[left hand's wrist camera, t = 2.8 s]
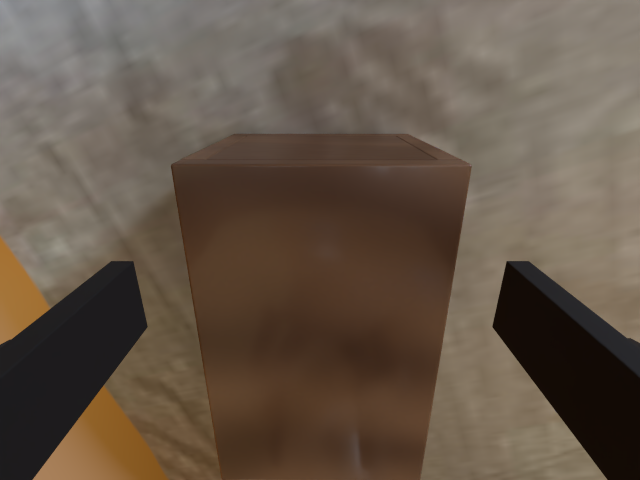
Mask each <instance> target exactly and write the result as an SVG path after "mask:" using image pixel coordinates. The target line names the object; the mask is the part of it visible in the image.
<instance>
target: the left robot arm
mask: <svg viewBox="0 0 640 480" xmlns="http://www.w3.org/2000/svg"><path fill="white" fill-rule="evenodd" d="M146 328H147V322H146V317H145V313H144V308H143V304H142V299H141V295H140V290H139V285H138V281H137V276H136V272H135V267H134V263H133V261H111V262H110V263H109V264H107V265H106V266H105V267H103V268H102V269H101V270H100V271H98V272H97V273H96V274H95V275H93V276H92V277H91V278H89V279H88V280H87V281H86V282H84V283H83V284H82V285H80V286H79V287H78V288H77V289H75V290H74V291H73V292H72V293H70V294H69V295H68V296H66V297H65V298H64V299H63V300H61V301H60V302H59V303H57V304H56V305H55V306H54V307H52V308H51V309H50V310H49V311H47V312H46V313H45V314H43V315H42V316H41V317H40V318H38V319H37V320H36V321H35V322H33V323H32V324H31V325H29V326H28V327H27V328H26V329H24V330H23V331H22V332H20V333H19V334H18V335H17V336H15V337H14V338H13V339H11V340H8V341H6V342H5V343H3V344H1V345H0V480H32V479H33V478H34V477H35V476H36V474H37V473H38V472H39V470H40V469H41V468H42V466H43V465H44V464H45V462H46V461H47V460H48V458H49V457H50V456H51V454H52V453H53V452H54V450H55V449H56V448H57V446H58V445H59V444H60V442H61V441H62V440H63V438H64V437H65V436H66V434H67V433H68V432H69V430H70V429H71V428H72V426H73V425H74V424H75V422H76V421H77V420H78V418H79V417H80V416H81V415H82V413H83V412H84V410H85V409H86V408H87V407H88V405H89V404H90V403H91V401H92V400H93V399H94V397H95V396H96V395H97V393H98V392H99V391H100V389H101V388H102V387H103V385H104V384H105V383H106V381H107V380H108V379H109V377H110V376H111V375H112V373H113V372H114V371H115V369H116V368H117V367H118V365H119V364H120V363H121V361H122V360H123V359H124V357H125V356H126V355H127V353H128V352H129V351H130V349H131V348H132V347H133V346H134V344H135V343H136V342H137V340H138V339H139V338H140V336H141V335H142V334H143V332H144V331H145V330H146ZM493 328H494V330H495V331H496V332H497V334H498V335H499V336H500V338H501V339H502V340H503V342H504V343H505V344H506V346H507V347H508V348H509V349H510V351H511V352H512V353H513V355H514V356H515V357H516V359H517V360H518V361H519V363H520V364H521V365H522V367H523V368H524V369H525V371H526V372H527V373H528V375H529V376H530V377H531V379H532V380H533V381H534V383H535V384H536V385H537V387H538V388H539V389H540V391H541V392H542V393H543V395H544V396H545V397H546V399H547V400H548V401H549V403H550V404H551V405H552V407H553V408H554V409H555V411H556V412H557V413H558V415H559V416H560V417H561V418H562V420H563V421H564V422H565V424H566V425H567V426H568V428H569V429H570V430H571V432H572V433H573V434H574V436H575V437H576V438H577V440H578V441H579V442H580V444H581V445H582V446H583V448H584V449H585V450H586V452H587V453H588V454H589V456H590V457H591V458H592V460H593V461H594V462H595V464H596V465H597V466H598V468H599V469H600V470H601V472H602V473H603V474H604V476H605V477H606V478H607V480H640V343H638V342H636V341H635V340H633V339H631V338H626V337H625V336H623V335H622V334H621V333H620V332H618V331H617V330H616V329H614V328H613V327H612V326H611V325H609V324H608V323H607V322H606V321H604V320H603V319H602V318H600V317H599V316H598V315H597V314H595V313H594V312H593V311H591V310H590V309H589V308H588V307H586V306H585V305H584V304H583V303H581V302H580V301H579V300H577V299H576V298H575V297H574V296H572V295H571V294H570V293H568V292H567V291H566V290H565V289H563V288H562V287H561V286H560V285H558V284H557V283H556V282H554V281H553V280H552V279H551V278H549V277H548V276H547V275H545V274H544V273H543V272H542V271H540V270H539V269H538V268H537V267H535V266H534V265H533V264H531V263H530V262H529V261H507V263H506V267H505V272H504V276H503V281H502V285H501V290H500V295H499V299H498V304H497V308H496V313H495V317H494V322H493Z"/></svg>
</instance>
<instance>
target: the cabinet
mask: <svg viewBox="0 0 640 480" xmlns="http://www.w3.org/2000/svg"><path fill="white" fill-rule="evenodd" d="M471 167H472V166H471V164H469V163H467V162H465V161H463V160H461V159H459V158H457V157H455V156H453V155H450V154H448V153H446V152H444V151H442V150H440V149H438V148H436V147H434V146H432V145H429V144H427V143H425V142H423V141H421V140H419V139H417V138H415V137H413V136H411V135H409V134H234V135H231V136H230V137H227V138H225V139H223V140H221V141H219V142H217V143H215V144H213V145H210V146H208V147H206V148H204V149H202V150H200V151H198V152H196V153H194V154H191V155H189V156H187V157H185V158H183V159H181V160H180V161H177V162H175V163H173V164H171V169H172V175H173V182H174V188H175V194H176V200H177V206H178V212H179V219H180V225H181V231H182V237H183V243H184V249H185V256H186V262H187V268H188V274H189V280H190V286H191V293H192V299H193V305H194V311H195V317H196V323H197V330H198V336H199V342H200V348H201V354H202V360H203V367H204V373H205V379H206V385H207V391H208V397H209V404H210V410H211V416H212V422H213V428H214V434H215V441H216V447H217V453H218V459H219V465H220V471H221V478H222V479H223V480H420V476H421V470H422V464H423V458H424V452H425V446H426V440H427V434H428V428H429V422H430V416H431V409H432V403H433V397H434V391H435V385H436V379H437V373H438V367H439V361H440V355H441V349H442V343H443V337H444V331H445V325H446V319H447V312H448V306H449V300H450V294H451V288H452V282H453V276H454V270H455V264H456V258H457V252H458V246H459V240H460V234H461V228H462V222H463V216H464V209H465V203H466V197H467V191H468V185H469V179H470V173H471Z"/></svg>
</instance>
